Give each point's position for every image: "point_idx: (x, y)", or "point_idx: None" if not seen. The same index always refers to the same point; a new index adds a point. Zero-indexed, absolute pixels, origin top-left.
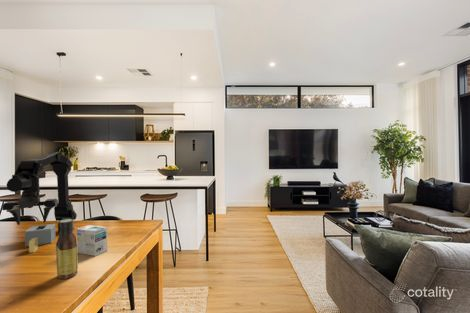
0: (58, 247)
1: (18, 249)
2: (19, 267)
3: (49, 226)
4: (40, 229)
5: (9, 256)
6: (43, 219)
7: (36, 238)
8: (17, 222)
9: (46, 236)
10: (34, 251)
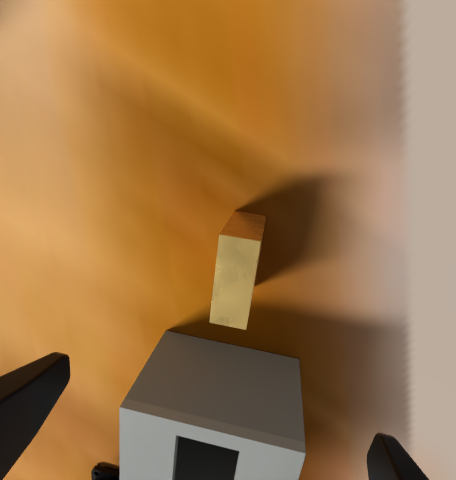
0: None
1: (332, 325)
2: None
3: (144, 473)
4: (194, 433)
5: (377, 211)
6: (23, 382)
7: (214, 297)
8: (415, 474)
9: (173, 369)
10: (235, 212)
